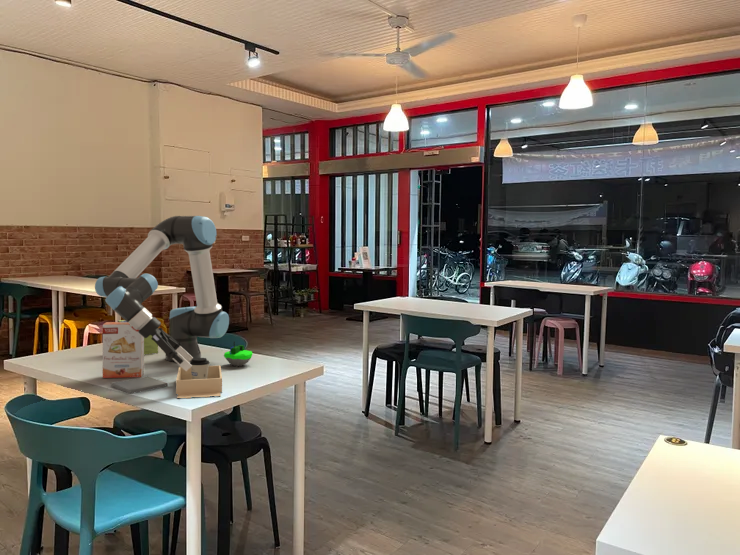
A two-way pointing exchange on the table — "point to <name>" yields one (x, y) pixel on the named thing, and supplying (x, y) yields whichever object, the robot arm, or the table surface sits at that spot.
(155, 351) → the protein box
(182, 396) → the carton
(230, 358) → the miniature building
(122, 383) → the slate board
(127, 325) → the cracker box
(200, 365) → the coffee cup
